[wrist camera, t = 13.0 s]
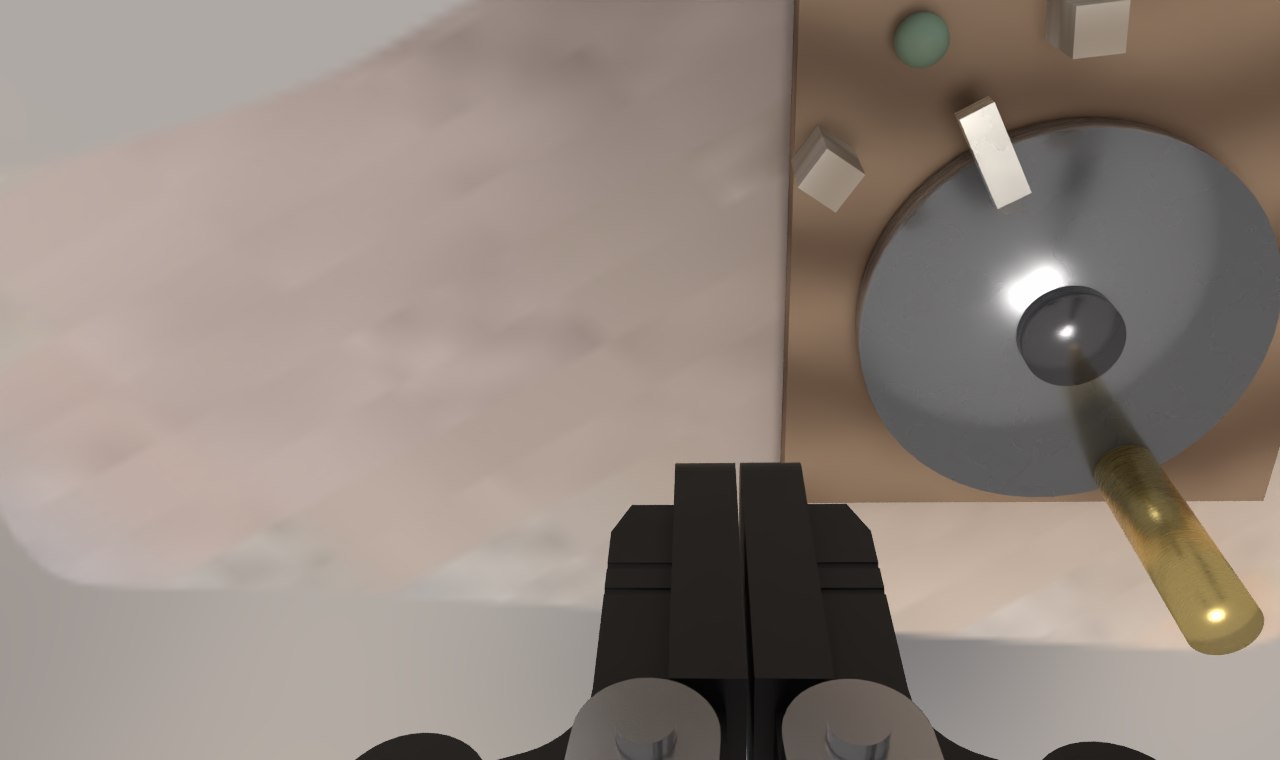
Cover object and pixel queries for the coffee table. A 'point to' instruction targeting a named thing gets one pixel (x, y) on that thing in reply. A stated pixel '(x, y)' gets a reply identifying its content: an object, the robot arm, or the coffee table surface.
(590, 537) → the coffee table surface
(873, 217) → the turntable
